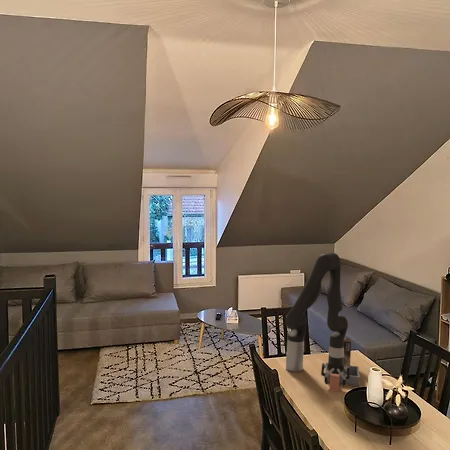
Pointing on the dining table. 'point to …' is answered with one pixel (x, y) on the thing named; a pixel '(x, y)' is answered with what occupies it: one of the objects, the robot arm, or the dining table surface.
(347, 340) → the coffee box
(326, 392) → the dining table surface
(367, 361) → the dining table surface
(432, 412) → the dining table surface
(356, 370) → the tote
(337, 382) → the juice box
